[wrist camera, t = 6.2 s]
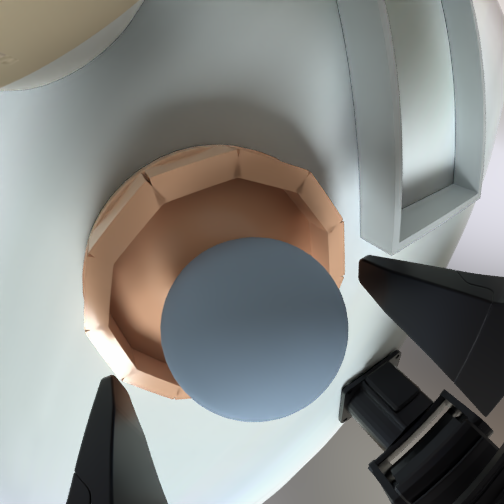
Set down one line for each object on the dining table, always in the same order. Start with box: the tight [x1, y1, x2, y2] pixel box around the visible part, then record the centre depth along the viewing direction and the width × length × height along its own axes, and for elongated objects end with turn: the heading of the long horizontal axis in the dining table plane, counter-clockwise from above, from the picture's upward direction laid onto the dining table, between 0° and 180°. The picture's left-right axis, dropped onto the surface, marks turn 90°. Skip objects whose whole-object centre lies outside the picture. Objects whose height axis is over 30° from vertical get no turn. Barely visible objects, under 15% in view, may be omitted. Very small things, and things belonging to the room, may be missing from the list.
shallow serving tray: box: [337, 0, 486, 256], centre depth 12 cm, size 15×10×2 cm
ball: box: [160, 237, 348, 422], centre depth 9 cm, size 6×6×6 cm
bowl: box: [83, 144, 345, 400], centre depth 11 cm, size 10×10×2 cm
